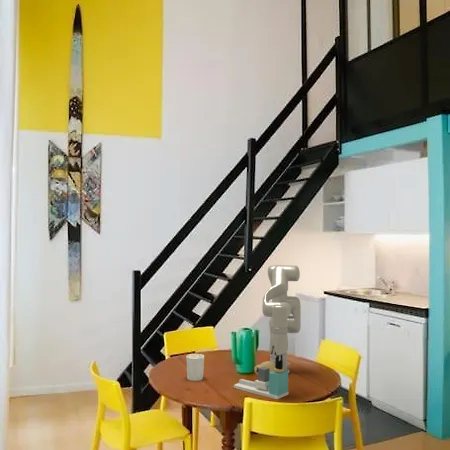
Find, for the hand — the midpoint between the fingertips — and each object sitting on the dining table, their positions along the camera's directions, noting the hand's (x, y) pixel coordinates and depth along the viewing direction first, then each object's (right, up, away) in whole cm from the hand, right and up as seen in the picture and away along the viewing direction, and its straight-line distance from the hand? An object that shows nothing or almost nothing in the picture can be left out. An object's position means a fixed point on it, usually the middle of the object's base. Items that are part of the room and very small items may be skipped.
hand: (278, 368), depth 242 cm
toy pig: (-5, -13, +22) cm, 27 cm away
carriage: (-7, -11, +5) cm, 14 cm away
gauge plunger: (0, -7, 0) cm, 7 cm away
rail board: (-8, -13, +6) cm, 17 cm away
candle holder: (-42, -13, +25) cm, 51 cm away
